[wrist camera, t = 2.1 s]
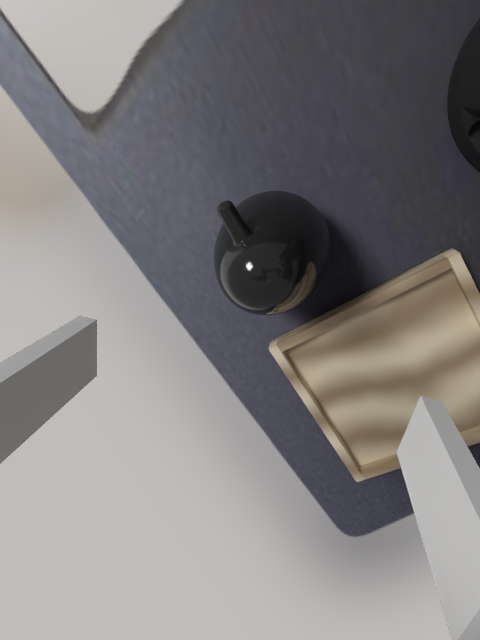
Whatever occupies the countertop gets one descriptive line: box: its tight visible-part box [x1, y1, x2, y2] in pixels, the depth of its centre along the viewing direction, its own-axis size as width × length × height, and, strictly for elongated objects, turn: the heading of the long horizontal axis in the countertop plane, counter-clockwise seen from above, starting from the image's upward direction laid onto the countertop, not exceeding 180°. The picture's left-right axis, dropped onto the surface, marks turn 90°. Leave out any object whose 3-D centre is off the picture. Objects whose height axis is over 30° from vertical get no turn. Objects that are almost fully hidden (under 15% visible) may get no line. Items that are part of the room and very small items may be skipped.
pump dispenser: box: [214, 191, 332, 315], centre depth 30 cm, size 10×10×15 cm
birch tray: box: [269, 248, 480, 482], centre depth 39 cm, size 20×20×2 cm
